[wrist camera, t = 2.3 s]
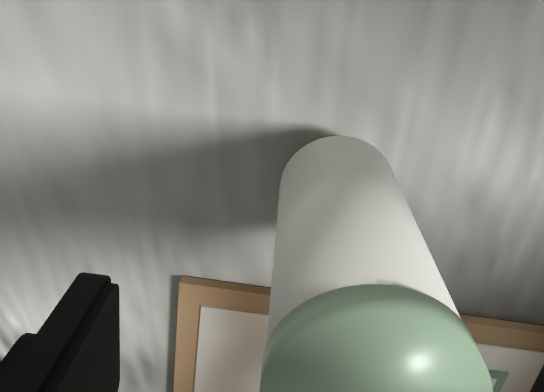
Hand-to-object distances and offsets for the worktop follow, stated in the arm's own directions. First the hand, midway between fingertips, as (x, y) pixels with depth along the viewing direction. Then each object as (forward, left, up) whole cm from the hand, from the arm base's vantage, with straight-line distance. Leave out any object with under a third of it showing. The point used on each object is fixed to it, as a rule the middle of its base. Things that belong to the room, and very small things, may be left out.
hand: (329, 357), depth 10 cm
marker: (-1, -1, -9) cm, 9 cm away
